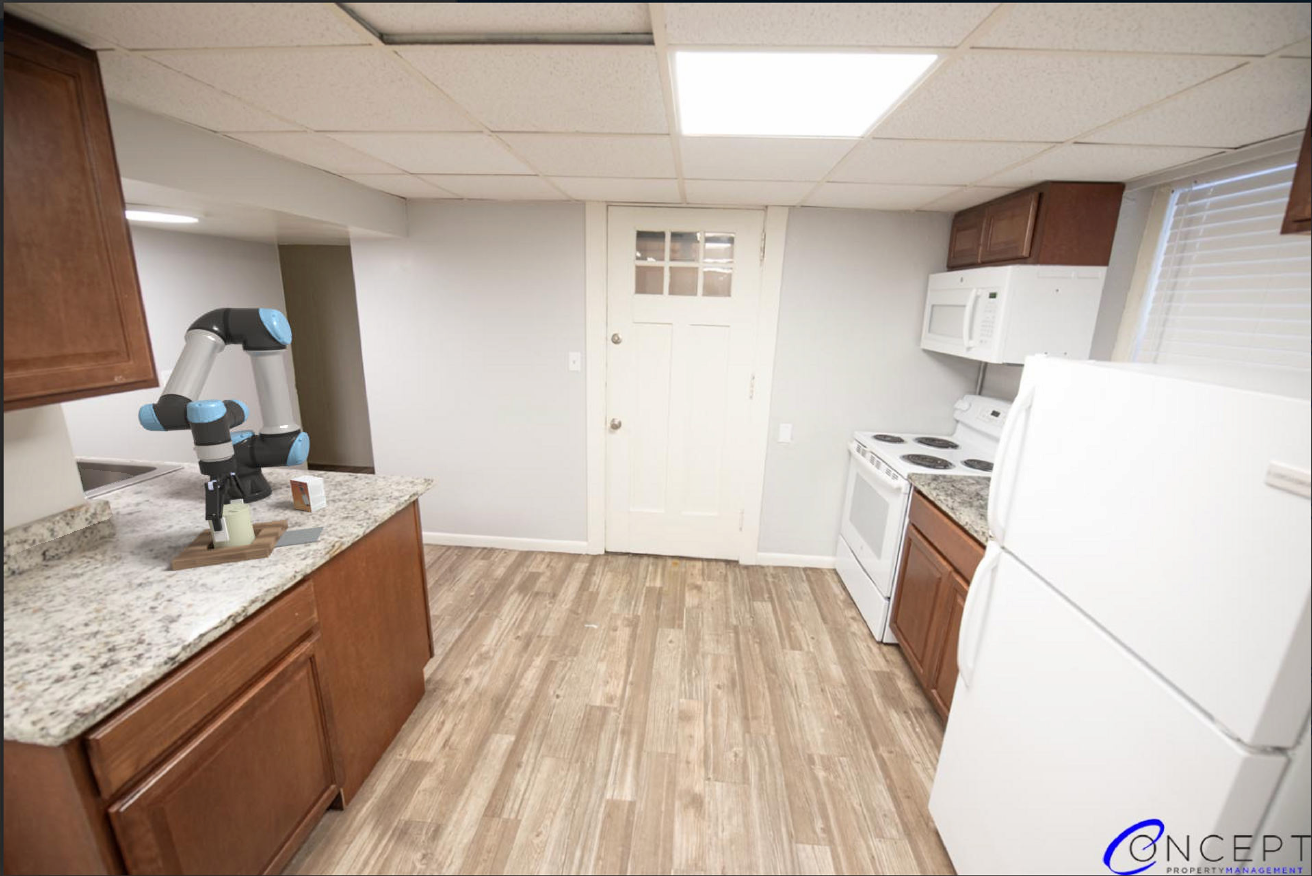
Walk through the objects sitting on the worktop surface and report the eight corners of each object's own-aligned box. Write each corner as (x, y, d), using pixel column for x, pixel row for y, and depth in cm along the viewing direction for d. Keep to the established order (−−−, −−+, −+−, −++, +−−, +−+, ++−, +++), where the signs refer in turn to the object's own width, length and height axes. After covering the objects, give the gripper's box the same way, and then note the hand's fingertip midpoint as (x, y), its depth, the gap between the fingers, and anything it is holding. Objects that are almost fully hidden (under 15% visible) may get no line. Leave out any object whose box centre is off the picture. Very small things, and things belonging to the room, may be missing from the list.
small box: (294, 508, 165) (288, 479, 163) (310, 502, 171) (305, 474, 168) (311, 512, 163) (306, 482, 160) (327, 506, 168) (322, 477, 165)
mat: (284, 532, 149) (284, 531, 149) (323, 527, 153) (323, 526, 152) (274, 547, 140) (274, 546, 140) (316, 541, 144) (316, 540, 144)
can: (232, 556, 134) (223, 516, 131) (205, 552, 136) (196, 512, 133) (265, 541, 143) (257, 503, 140) (239, 537, 145) (230, 499, 142)
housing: (206, 537, 145) (204, 529, 144) (288, 527, 152) (286, 519, 152) (173, 570, 127) (171, 562, 126) (268, 557, 135) (266, 549, 134)
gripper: (217, 447, 142) (232, 515, 148) (176, 473, 120) (195, 552, 126) (249, 444, 145) (262, 511, 151) (215, 470, 123) (232, 547, 128)
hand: (232, 530), depth 138 cm, fingers open, 13 cm apart
